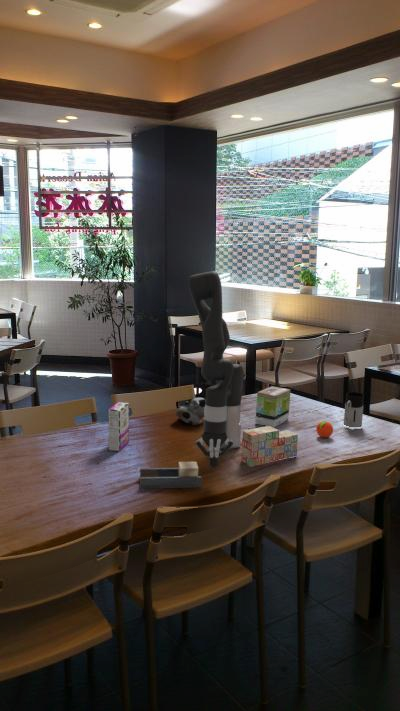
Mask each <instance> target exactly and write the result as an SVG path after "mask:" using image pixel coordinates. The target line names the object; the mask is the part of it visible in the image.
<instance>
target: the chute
mask: <svg viewBox="0 0 400 711" xmlns="http://www.w3.org/2000/svg"><path fill="white" fill-rule="evenodd" d="M139 471H140V472H139V477H140V478H139V479H140V480H139V482H140V483H139V484H140V489H142V490H143V489H181V488H182V489H189V488H190V489H192V488H193V489H194V488H197V487H199V488H202V476H200V475H199V474H200V468H199V467H198V476H191V477H179V467H152V468H151V467H146V468H145V467H144V468H143V467H141V468H140V470H139Z"/></svg>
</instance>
